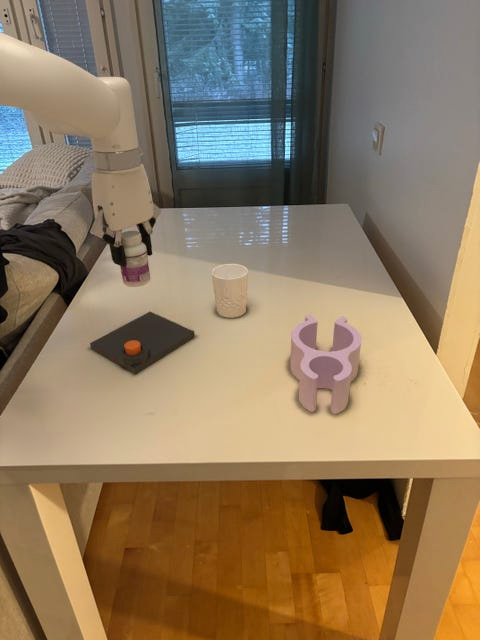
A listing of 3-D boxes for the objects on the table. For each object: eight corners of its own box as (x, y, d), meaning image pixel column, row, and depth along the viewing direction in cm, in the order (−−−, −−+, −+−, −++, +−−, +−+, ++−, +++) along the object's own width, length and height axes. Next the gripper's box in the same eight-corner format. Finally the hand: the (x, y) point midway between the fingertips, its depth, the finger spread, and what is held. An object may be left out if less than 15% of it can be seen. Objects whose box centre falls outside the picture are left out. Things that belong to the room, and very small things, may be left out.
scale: (133, 375, 87) (131, 362, 85) (89, 349, 95) (86, 337, 93) (195, 337, 98) (193, 324, 96) (150, 316, 105) (149, 305, 104)
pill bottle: (122, 277, 92) (114, 231, 87) (149, 274, 93) (142, 227, 88) (123, 289, 87) (115, 241, 82) (152, 285, 88) (145, 237, 83)
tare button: (132, 357, 87) (131, 350, 87) (122, 352, 89) (120, 345, 88) (144, 350, 89) (143, 343, 89) (134, 345, 91) (133, 338, 90)
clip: (361, 416, 76) (366, 382, 72) (285, 409, 78) (286, 376, 74) (355, 347, 93) (359, 317, 89) (292, 343, 95) (293, 313, 91)
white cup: (248, 319, 103) (247, 278, 98) (213, 319, 103) (210, 279, 98) (248, 302, 110) (248, 263, 105) (215, 302, 110) (213, 263, 105)
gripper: (142, 148, 86) (154, 241, 95) (59, 167, 75) (82, 269, 84) (170, 153, 82) (180, 249, 91) (87, 173, 71) (108, 280, 80)
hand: (133, 258), depth 88 cm, fingers closed on pill bottle, 5 cm apart
